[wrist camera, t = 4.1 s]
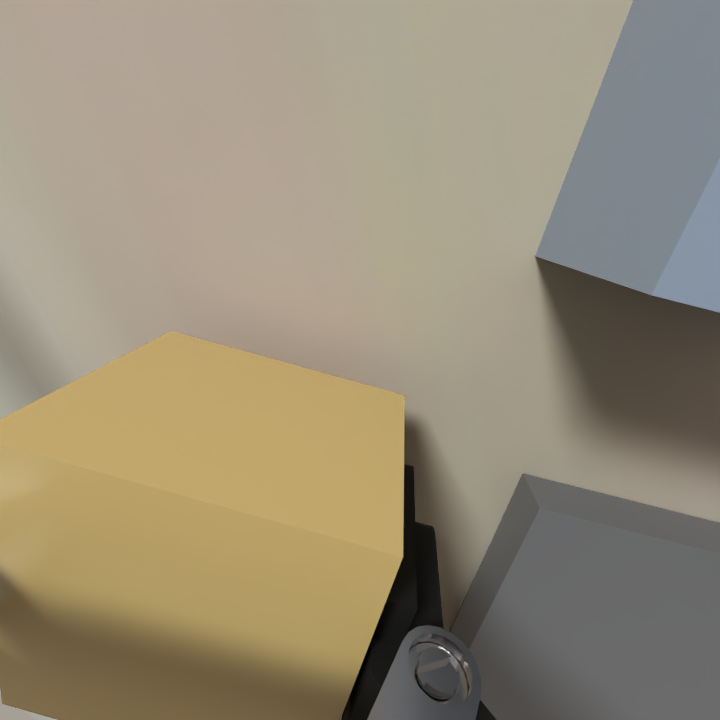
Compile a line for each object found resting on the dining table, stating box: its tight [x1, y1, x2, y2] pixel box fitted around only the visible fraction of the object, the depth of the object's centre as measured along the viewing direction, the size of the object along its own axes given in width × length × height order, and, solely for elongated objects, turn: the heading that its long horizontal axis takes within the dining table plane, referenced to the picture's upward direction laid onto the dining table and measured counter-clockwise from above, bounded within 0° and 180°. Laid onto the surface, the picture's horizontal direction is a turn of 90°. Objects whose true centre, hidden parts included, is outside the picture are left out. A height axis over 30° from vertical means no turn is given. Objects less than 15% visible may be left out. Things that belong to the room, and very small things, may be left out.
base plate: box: [450, 474, 720, 720], centre depth 14 cm, size 14×14×2 cm
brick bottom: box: [0, 331, 405, 720], centre depth 9 cm, size 6×6×5 cm
